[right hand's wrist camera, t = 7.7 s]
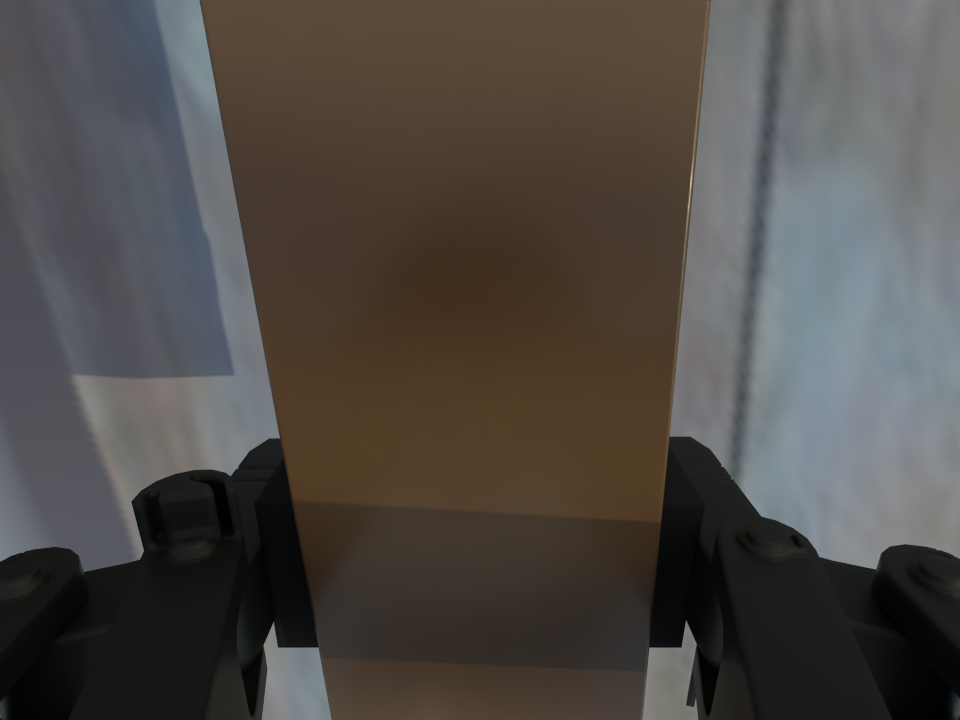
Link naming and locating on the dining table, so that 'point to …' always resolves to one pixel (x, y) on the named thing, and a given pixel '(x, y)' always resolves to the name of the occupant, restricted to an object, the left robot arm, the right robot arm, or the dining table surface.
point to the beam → (469, 330)
